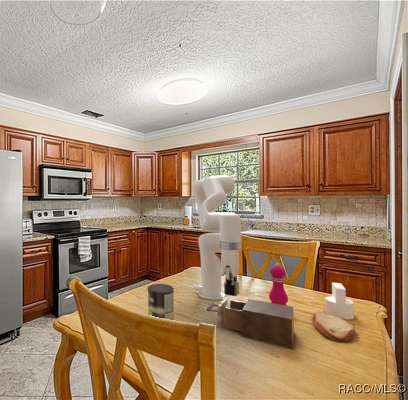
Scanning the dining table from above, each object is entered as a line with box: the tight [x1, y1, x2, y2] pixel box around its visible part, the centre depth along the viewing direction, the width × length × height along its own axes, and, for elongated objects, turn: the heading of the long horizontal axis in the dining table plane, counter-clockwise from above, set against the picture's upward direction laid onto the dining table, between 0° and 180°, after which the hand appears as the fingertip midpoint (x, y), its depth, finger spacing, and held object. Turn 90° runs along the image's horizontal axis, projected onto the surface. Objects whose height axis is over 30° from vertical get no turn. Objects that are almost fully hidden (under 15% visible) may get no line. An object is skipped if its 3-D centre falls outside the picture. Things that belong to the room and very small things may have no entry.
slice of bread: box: [313, 310, 357, 343], centre depth 101 cm, size 18×18×4 cm
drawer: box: [205, 297, 247, 332], centre depth 104 cm, size 18×11×8 cm, turn 54°
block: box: [223, 280, 240, 297], centre depth 104 cm, size 4×4×4 cm
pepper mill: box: [268, 262, 289, 306], centre depth 121 cm, size 7×7×20 cm
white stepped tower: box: [324, 282, 355, 320], centre depth 113 cm, size 9×9×12 cm
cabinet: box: [242, 298, 295, 350], centre depth 97 cm, size 15×13×10 cm
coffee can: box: [147, 283, 175, 321], centre depth 109 cm, size 10×10×14 cm
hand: (231, 292), depth 104 cm, fingers closed on block, 4 cm apart
